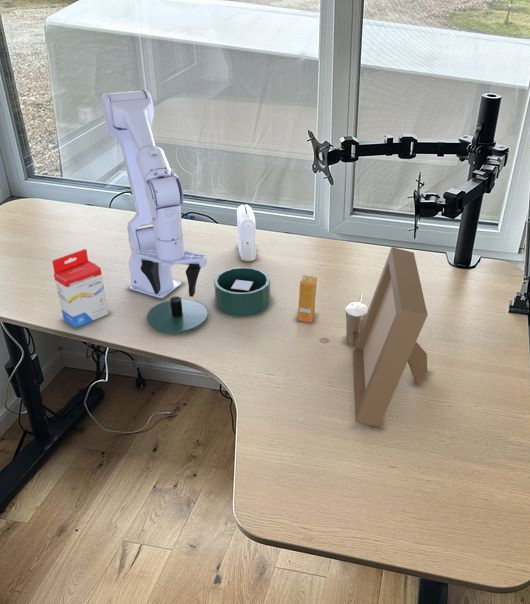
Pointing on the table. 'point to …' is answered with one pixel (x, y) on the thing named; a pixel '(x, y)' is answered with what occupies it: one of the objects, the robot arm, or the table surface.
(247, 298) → the tin
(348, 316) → the milkshake
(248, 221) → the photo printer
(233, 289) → the block
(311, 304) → the supplement box
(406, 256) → the photo frame
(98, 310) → the ink box
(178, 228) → the robot arm
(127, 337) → the table surface
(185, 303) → the lid
